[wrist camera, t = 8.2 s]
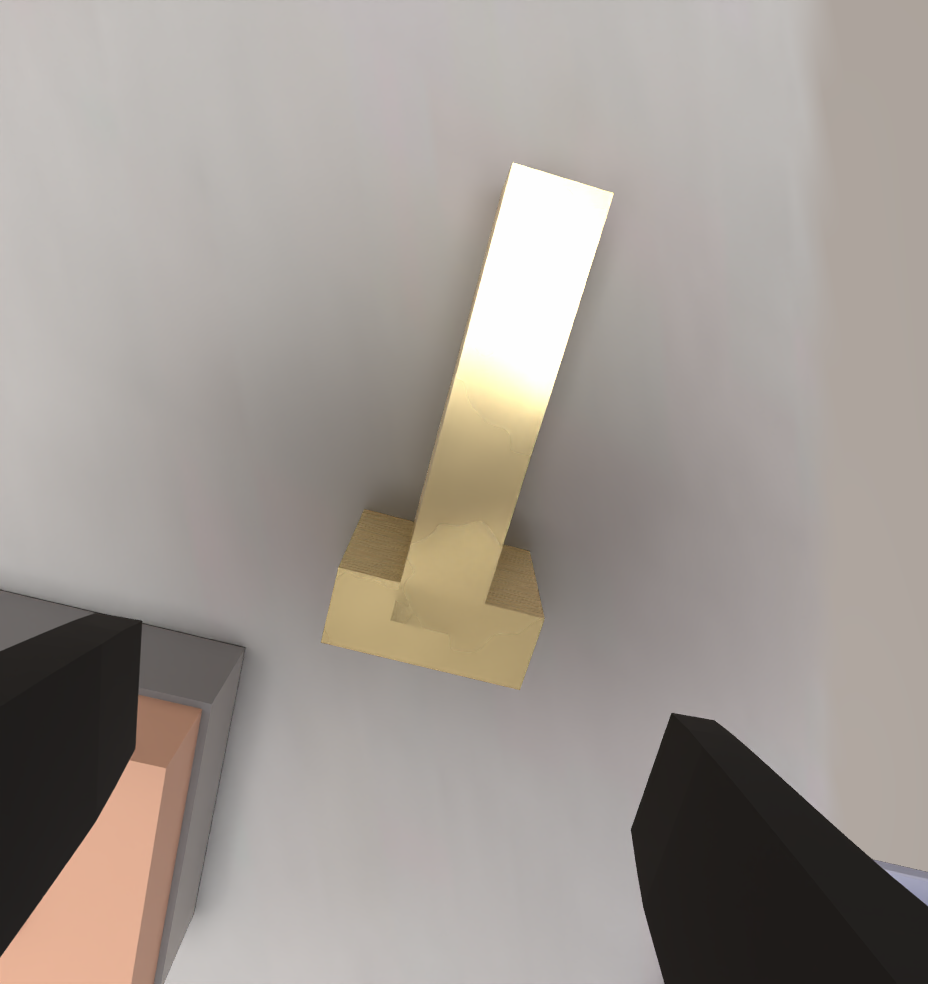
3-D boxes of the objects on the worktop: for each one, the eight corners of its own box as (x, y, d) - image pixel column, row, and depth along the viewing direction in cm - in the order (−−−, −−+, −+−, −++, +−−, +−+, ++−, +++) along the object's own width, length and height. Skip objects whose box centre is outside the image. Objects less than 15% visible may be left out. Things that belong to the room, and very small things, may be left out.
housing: (244, 648, 18) (211, 703, 16) (193, 913, 21) (159, 995, 19) (-56, 577, 18) (-137, 624, 15) (-65, 861, 21) (-134, 938, 18)
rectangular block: (509, 610, 18) (519, 690, 14) (349, 570, 18) (321, 642, 14) (635, 228, 15) (685, 214, 11) (445, 172, 15) (438, 140, 11)
